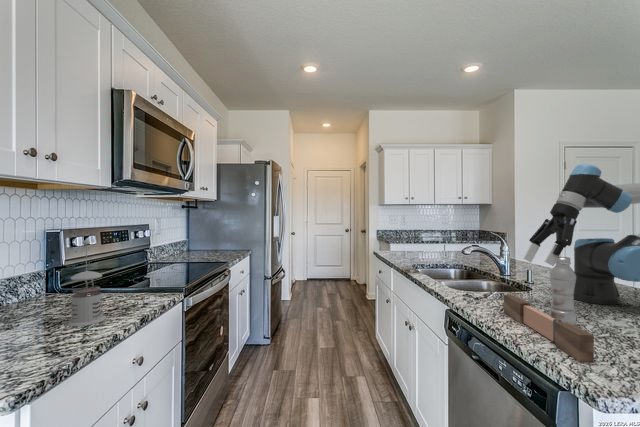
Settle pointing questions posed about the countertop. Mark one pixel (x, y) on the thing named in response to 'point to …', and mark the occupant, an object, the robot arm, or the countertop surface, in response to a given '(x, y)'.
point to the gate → (540, 322)
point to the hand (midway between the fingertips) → (537, 262)
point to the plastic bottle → (563, 291)
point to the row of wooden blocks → (557, 331)
